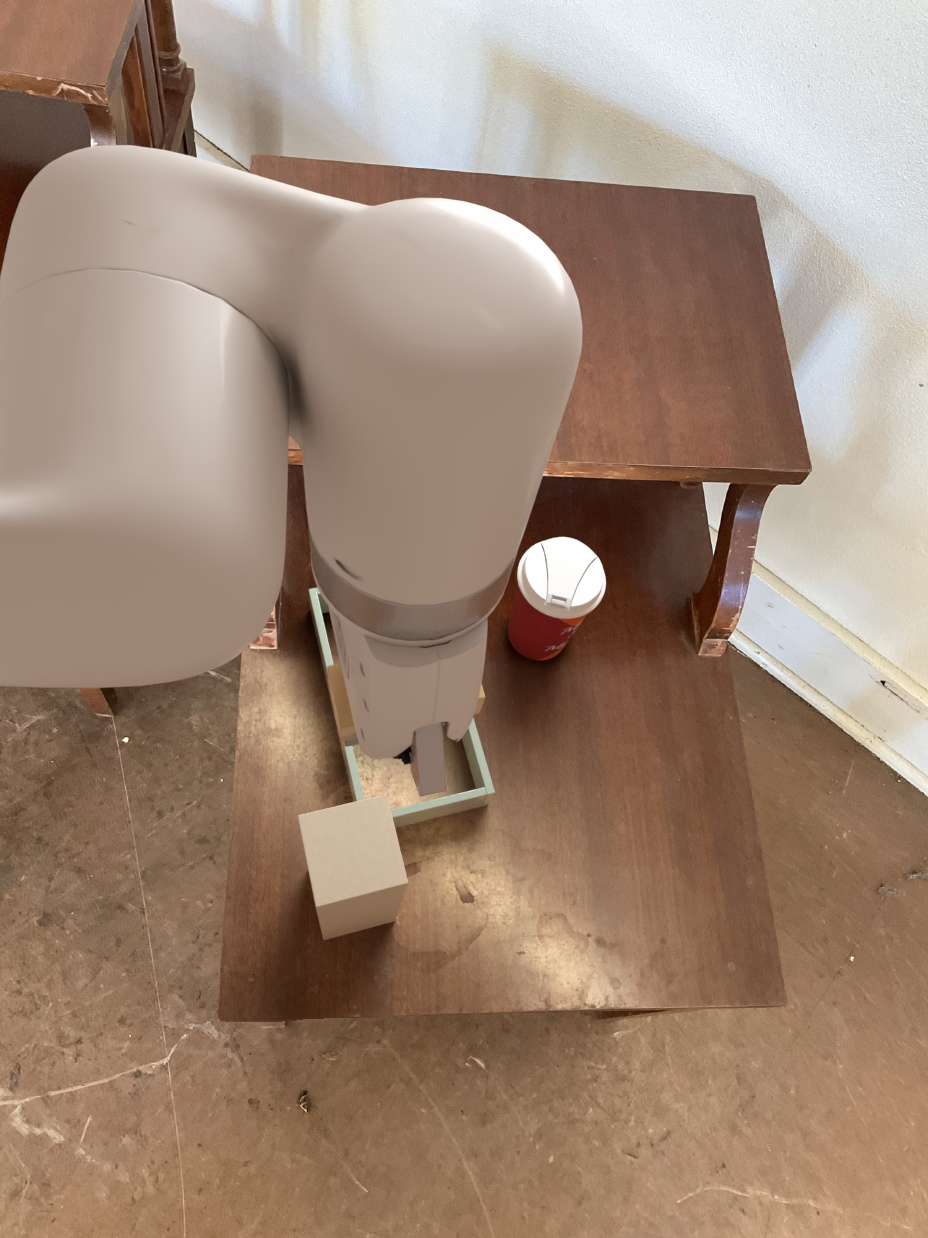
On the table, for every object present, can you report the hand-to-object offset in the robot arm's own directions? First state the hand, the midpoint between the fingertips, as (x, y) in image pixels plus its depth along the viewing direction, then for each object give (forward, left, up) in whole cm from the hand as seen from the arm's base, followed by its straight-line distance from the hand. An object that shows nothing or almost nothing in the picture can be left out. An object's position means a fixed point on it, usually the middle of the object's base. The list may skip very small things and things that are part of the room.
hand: (393, 707), depth 49 cm
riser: (-3, -4, -33) cm, 34 cm away
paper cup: (+19, +15, -34) cm, 42 cm away
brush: (0, 0, 0) cm, 1 cm away
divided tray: (+4, +11, -33) cm, 35 cm away
